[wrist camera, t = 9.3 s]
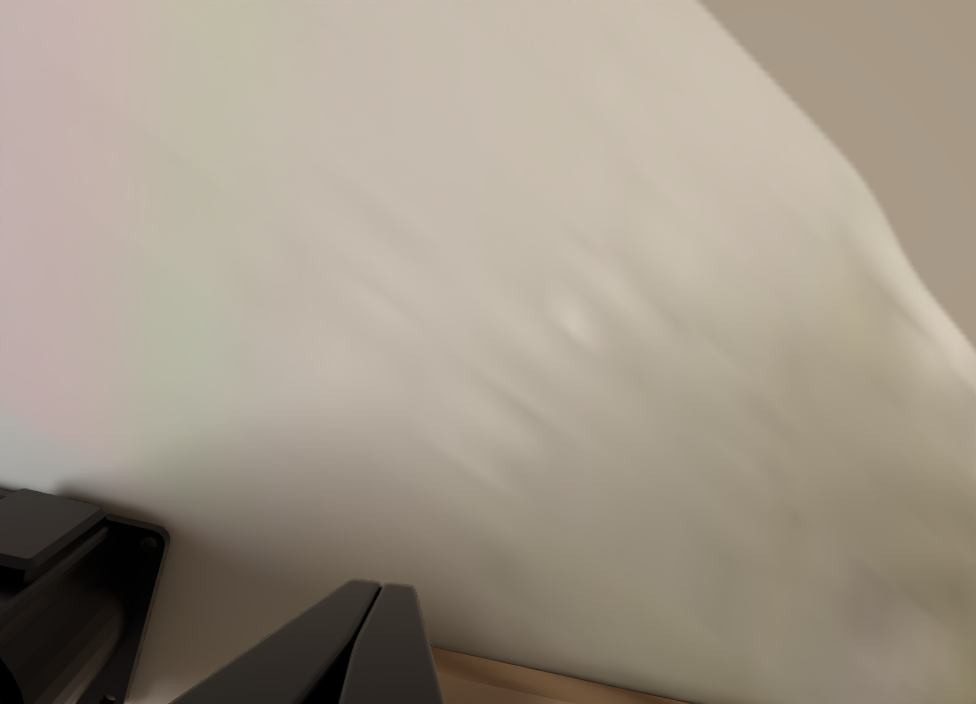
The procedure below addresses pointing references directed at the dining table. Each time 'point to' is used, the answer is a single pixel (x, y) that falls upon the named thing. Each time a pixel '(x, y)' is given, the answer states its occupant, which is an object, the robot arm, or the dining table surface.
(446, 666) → the cord board
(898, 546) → the dining table surface
